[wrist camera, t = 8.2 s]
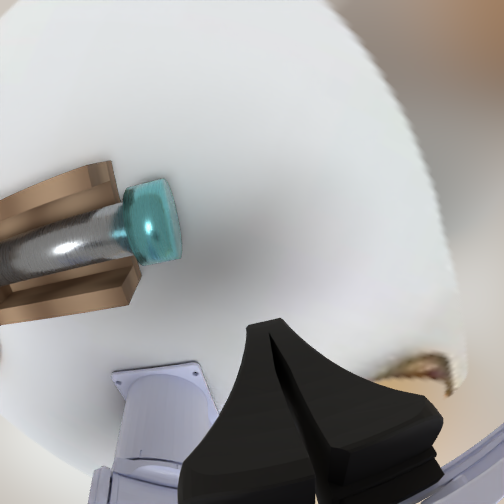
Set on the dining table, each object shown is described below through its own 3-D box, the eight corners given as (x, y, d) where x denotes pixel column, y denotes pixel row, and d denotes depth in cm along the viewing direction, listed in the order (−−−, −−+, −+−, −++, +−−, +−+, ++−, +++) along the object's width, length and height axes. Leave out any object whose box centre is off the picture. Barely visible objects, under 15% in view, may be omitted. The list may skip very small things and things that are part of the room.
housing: (111, 160, 16) (78, 166, 12) (141, 275, 19) (124, 314, 15) (-17, 211, 15) (-56, 229, 11) (15, 301, 18) (-14, 333, 14)
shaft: (168, 174, 17) (155, 183, 13) (184, 243, 18) (177, 271, 14) (-3, 229, 16) (-37, 249, 12) (15, 282, 17) (-14, 309, 13)
